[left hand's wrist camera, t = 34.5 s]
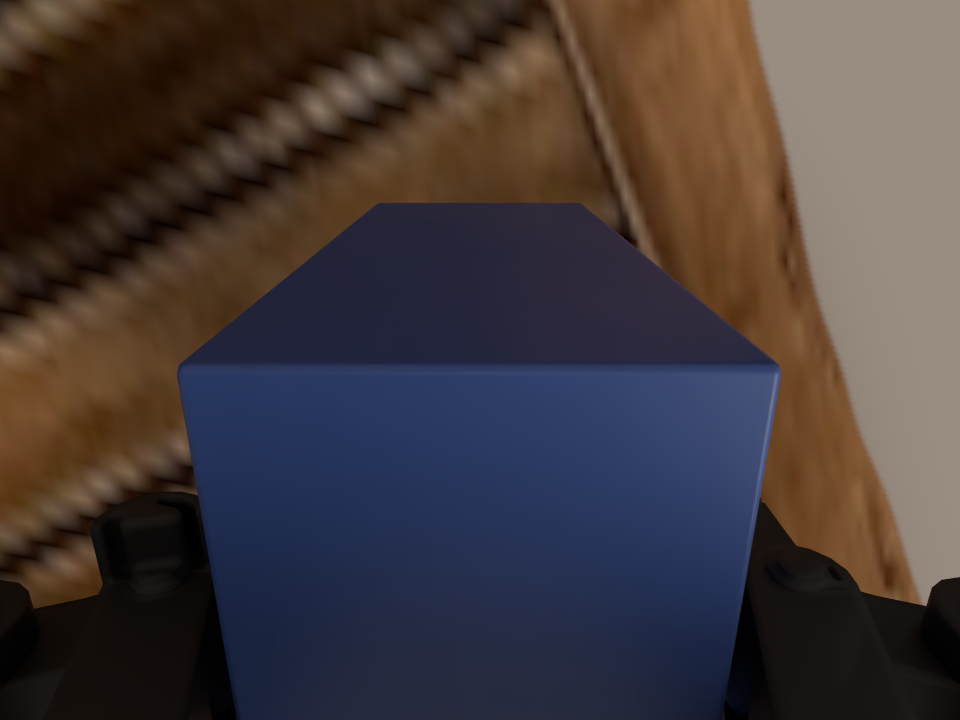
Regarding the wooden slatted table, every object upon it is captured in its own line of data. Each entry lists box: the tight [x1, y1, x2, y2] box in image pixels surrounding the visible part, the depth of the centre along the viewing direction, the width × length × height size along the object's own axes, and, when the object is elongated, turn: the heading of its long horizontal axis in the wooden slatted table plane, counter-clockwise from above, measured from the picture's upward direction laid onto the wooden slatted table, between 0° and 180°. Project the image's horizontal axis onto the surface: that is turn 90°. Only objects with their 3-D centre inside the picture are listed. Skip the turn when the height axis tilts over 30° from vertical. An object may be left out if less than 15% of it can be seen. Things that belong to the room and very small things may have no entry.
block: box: [177, 203, 781, 720], centre depth 11 cm, size 8×5×11 cm, turn 0°
